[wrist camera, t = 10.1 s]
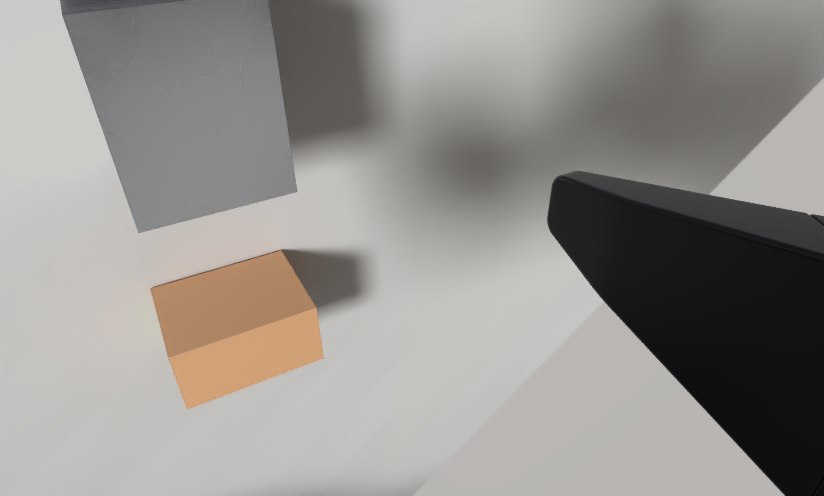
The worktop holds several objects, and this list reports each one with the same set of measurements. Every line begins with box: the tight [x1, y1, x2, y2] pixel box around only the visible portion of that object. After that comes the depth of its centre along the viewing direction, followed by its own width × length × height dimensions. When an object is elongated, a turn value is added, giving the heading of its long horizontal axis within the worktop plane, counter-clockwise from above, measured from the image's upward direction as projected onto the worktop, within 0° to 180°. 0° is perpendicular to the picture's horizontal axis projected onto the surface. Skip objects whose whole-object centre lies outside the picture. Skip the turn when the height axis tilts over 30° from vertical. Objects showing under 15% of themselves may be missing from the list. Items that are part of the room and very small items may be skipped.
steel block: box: [60, 0, 297, 233], centre depth 15 cm, size 5×4×6 cm
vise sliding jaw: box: [151, 250, 324, 409], centre depth 22 cm, size 2×5×4 cm, turn 92°
